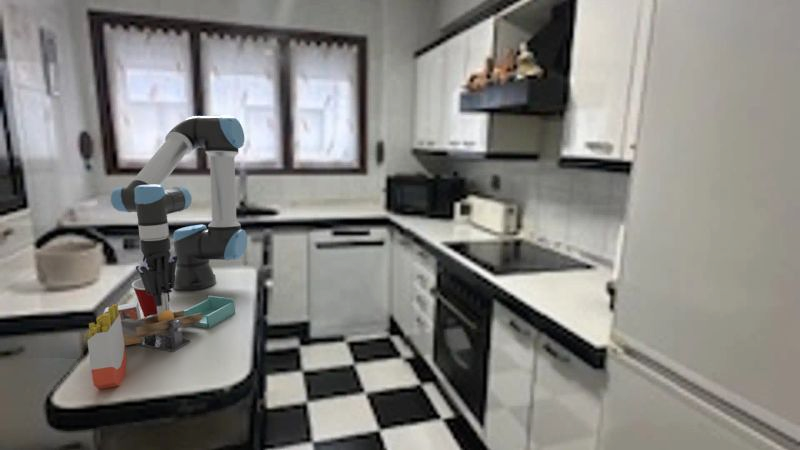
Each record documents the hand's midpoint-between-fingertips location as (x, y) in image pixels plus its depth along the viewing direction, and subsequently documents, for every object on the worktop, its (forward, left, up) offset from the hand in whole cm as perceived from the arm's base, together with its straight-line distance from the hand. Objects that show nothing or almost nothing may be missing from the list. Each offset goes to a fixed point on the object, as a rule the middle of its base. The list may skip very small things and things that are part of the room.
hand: (163, 314), depth 131 cm
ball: (+6, +8, +3) cm, 10 cm away
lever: (+8, +4, 0) cm, 9 cm away
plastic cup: (-6, -10, -5) cm, 13 cm away
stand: (+8, +8, -5) cm, 12 cm away
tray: (-10, +8, -5) cm, 13 cm away
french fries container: (+27, +12, -5) cm, 30 cm away
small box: (+11, -2, -4) cm, 12 cm away
